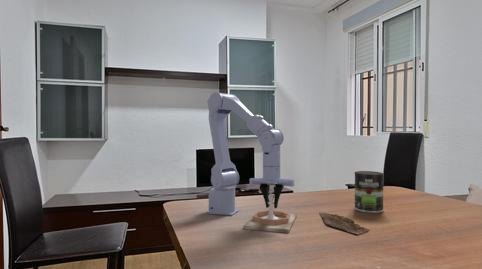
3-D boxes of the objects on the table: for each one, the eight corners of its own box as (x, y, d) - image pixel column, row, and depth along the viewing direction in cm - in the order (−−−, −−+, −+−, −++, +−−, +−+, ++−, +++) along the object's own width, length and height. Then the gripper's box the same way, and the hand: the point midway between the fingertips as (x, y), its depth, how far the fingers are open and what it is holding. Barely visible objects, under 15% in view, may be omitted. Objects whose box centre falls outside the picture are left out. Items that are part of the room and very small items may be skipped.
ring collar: (250, 223, 100) (250, 218, 100) (258, 213, 111) (258, 209, 111) (286, 226, 97) (286, 221, 97) (291, 216, 108) (291, 211, 108)
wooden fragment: (376, 235, 92) (376, 232, 92) (340, 237, 90) (340, 233, 90) (337, 213, 117) (337, 210, 117) (308, 214, 116) (308, 211, 116)
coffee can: (384, 214, 114) (384, 175, 114) (353, 211, 118) (353, 173, 118) (383, 207, 123) (383, 171, 123) (355, 205, 127) (355, 170, 127)
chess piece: (262, 218, 105) (262, 188, 105) (277, 218, 106) (276, 188, 106) (264, 222, 100) (264, 191, 100) (280, 222, 101) (280, 190, 101)
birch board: (243, 228, 98) (243, 225, 98) (257, 214, 115) (257, 211, 115) (289, 232, 94) (289, 229, 94) (296, 217, 111) (296, 214, 111)
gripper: (246, 166, 102) (247, 208, 102) (292, 167, 98) (292, 211, 98) (252, 164, 109) (252, 203, 109) (295, 165, 105) (295, 206, 105)
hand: (271, 207), depth 104 cm, fingers closed on chess piece
